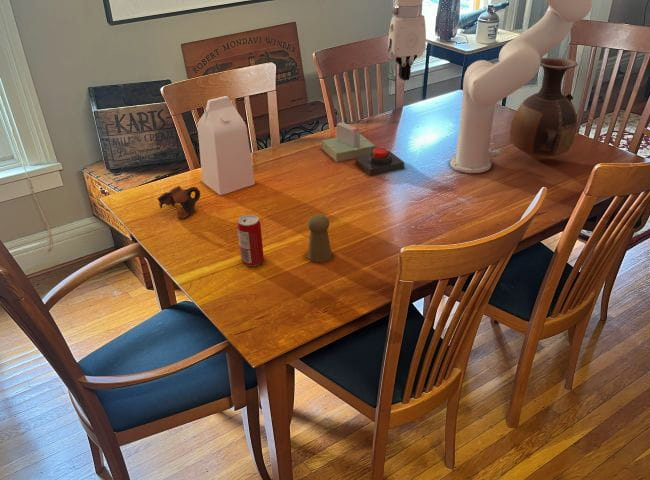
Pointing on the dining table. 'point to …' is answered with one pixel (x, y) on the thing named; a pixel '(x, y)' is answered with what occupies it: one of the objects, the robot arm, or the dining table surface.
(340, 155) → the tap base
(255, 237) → the soda can
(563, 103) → the vase
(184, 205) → the brown animal figurine
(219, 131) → the milk
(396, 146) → the dining table surface
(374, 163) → the button block
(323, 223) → the brown pawn
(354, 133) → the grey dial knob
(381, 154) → the tap button
